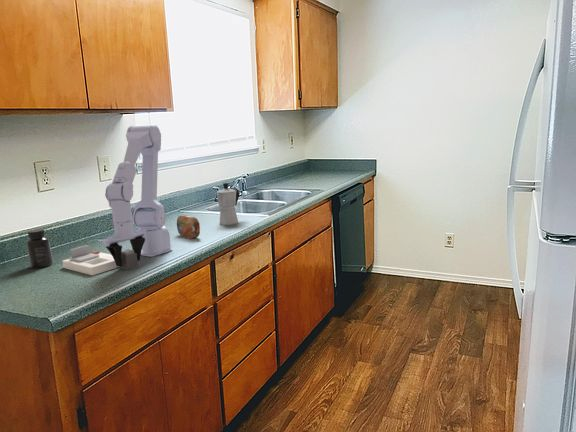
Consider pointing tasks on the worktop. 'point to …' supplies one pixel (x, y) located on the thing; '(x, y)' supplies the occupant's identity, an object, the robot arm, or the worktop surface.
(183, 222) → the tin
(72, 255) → the shutter
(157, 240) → the robot arm
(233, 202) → the coffee maker
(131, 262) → the plug
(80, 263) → the socket plate
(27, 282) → the worktop surface
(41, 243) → the supplement bottle
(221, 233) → the worktop surface
